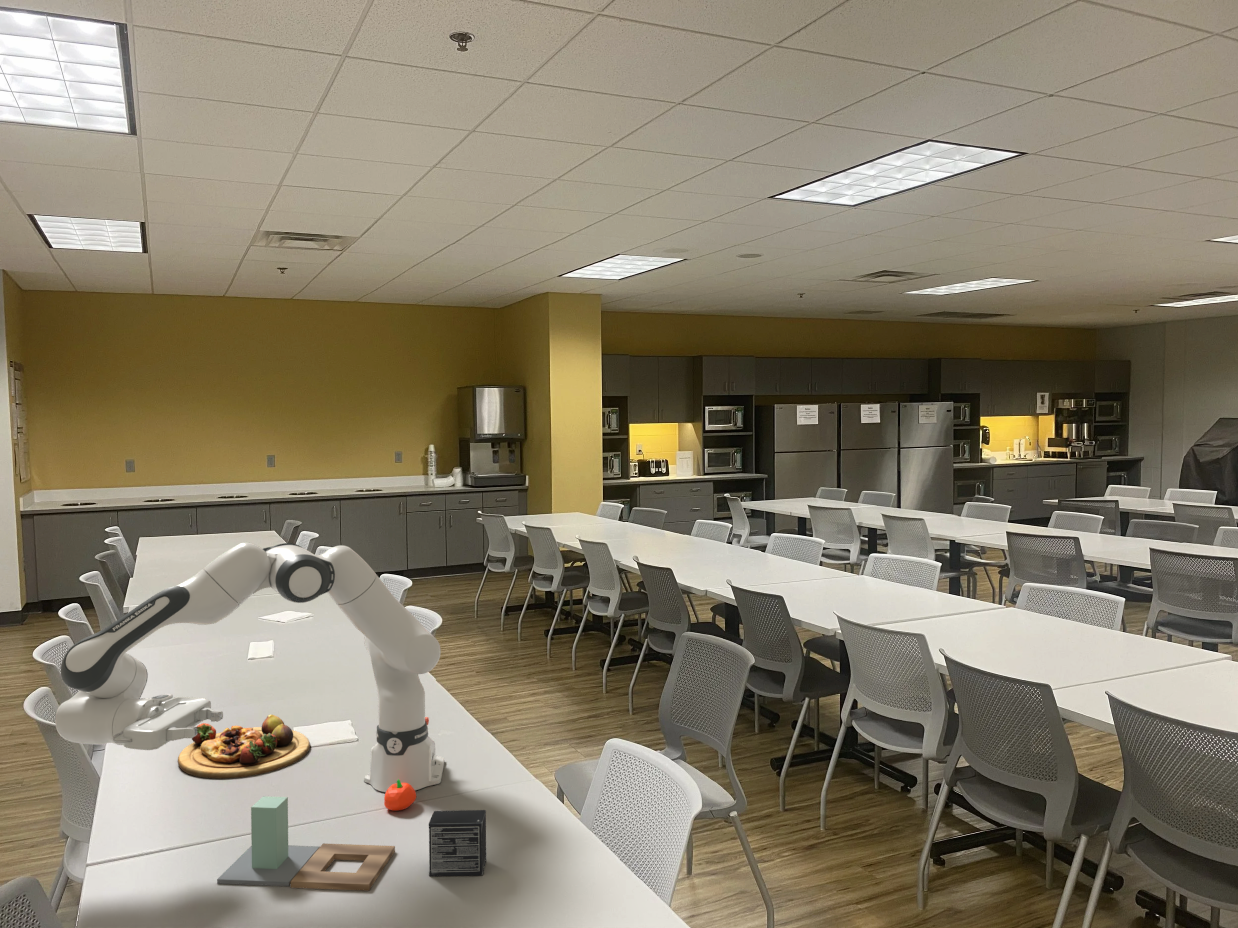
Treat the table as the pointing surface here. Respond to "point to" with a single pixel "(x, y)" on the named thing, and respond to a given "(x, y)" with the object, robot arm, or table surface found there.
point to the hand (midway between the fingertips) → (208, 724)
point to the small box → (457, 843)
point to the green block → (269, 832)
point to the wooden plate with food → (243, 750)
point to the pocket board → (361, 880)
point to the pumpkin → (399, 796)
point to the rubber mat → (276, 877)
